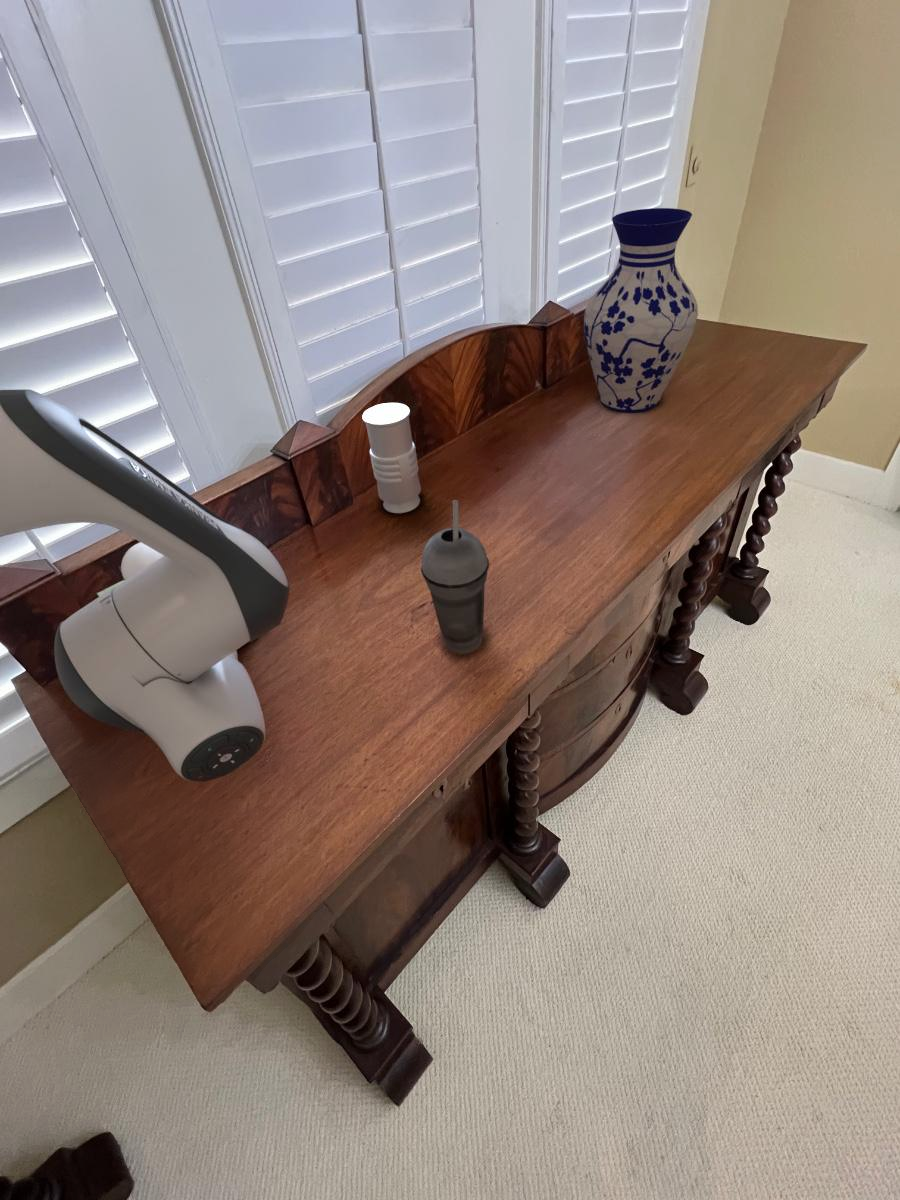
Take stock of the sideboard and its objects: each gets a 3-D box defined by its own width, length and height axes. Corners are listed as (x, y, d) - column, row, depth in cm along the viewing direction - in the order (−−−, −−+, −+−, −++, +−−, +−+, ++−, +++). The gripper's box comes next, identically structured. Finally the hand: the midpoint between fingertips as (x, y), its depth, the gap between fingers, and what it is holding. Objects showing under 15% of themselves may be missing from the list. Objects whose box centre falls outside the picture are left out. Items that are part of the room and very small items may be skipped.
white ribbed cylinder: (393, 520, 89) (375, 429, 79) (372, 501, 94) (353, 412, 84) (431, 504, 92) (419, 413, 82) (409, 486, 96) (395, 398, 86)
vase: (583, 379, 121) (595, 207, 101) (681, 380, 116) (713, 200, 96) (573, 421, 108) (583, 233, 87) (682, 424, 103) (720, 226, 83)
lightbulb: (144, 621, 72) (100, 551, 65) (190, 593, 75) (152, 523, 68) (170, 643, 69) (126, 571, 61) (216, 613, 72) (180, 541, 64)
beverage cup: (464, 609, 73) (449, 469, 60) (506, 638, 69) (500, 494, 56) (420, 641, 70) (394, 500, 57) (462, 673, 66) (444, 528, 52)
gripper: (272, 581, 61) (235, 522, 70) (61, 670, 54) (51, 591, 63) (288, 624, 65) (251, 563, 74) (95, 712, 58) (81, 632, 67)
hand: (158, 576), depth 68 cm, fingers closed on lightbulb, 6 cm apart
